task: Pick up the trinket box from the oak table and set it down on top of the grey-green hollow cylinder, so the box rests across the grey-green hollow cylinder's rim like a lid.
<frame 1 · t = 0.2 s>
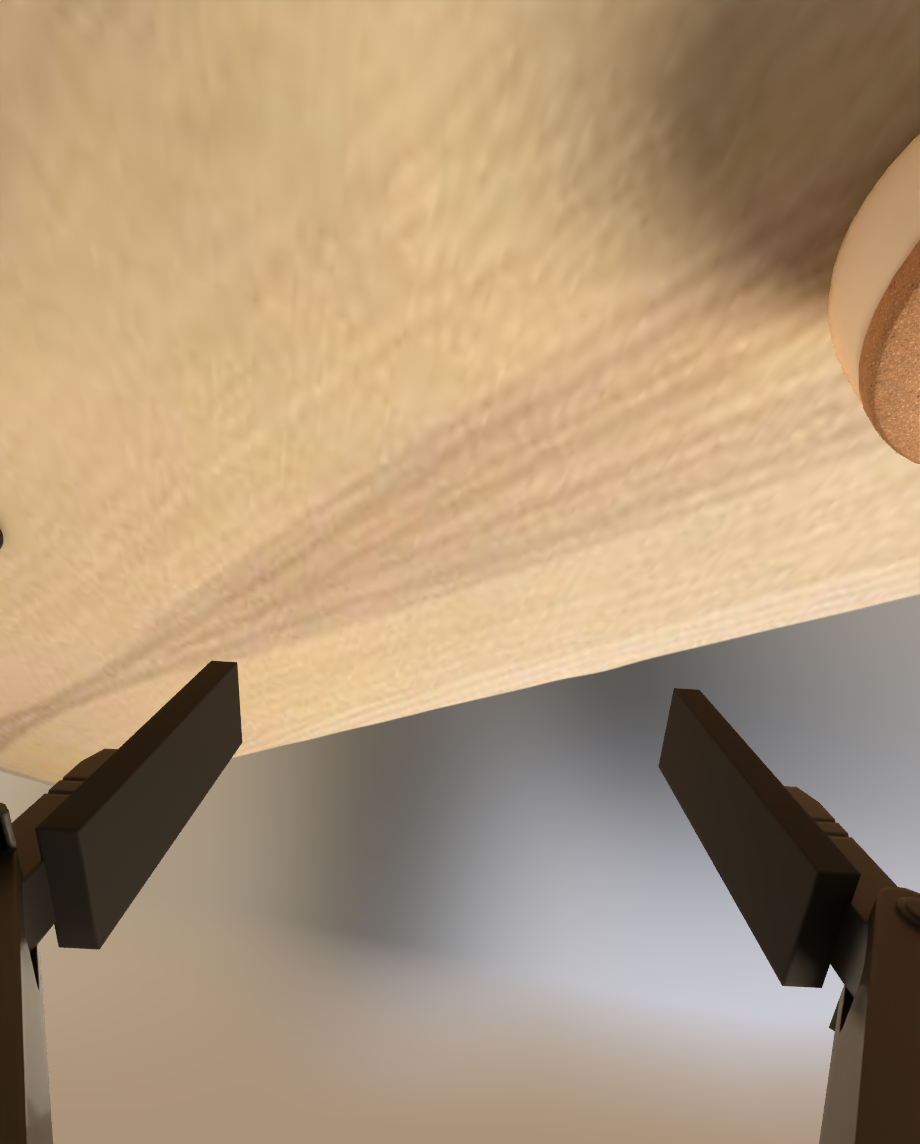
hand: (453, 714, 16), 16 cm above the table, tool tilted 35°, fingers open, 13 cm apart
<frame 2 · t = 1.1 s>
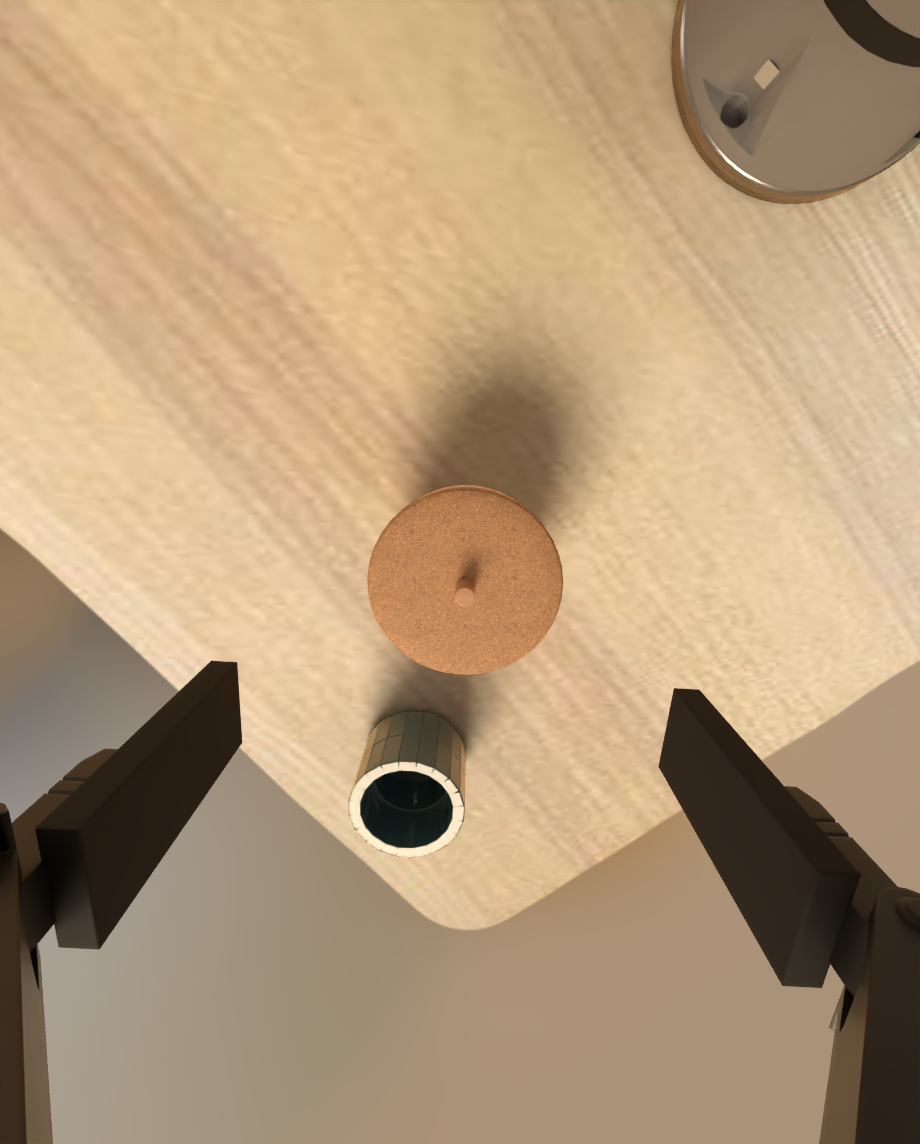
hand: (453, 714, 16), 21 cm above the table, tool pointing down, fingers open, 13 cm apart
grey-green hollow cylinder: (415, 749, 40), on the table
trinket box: (465, 551, 36), on the table
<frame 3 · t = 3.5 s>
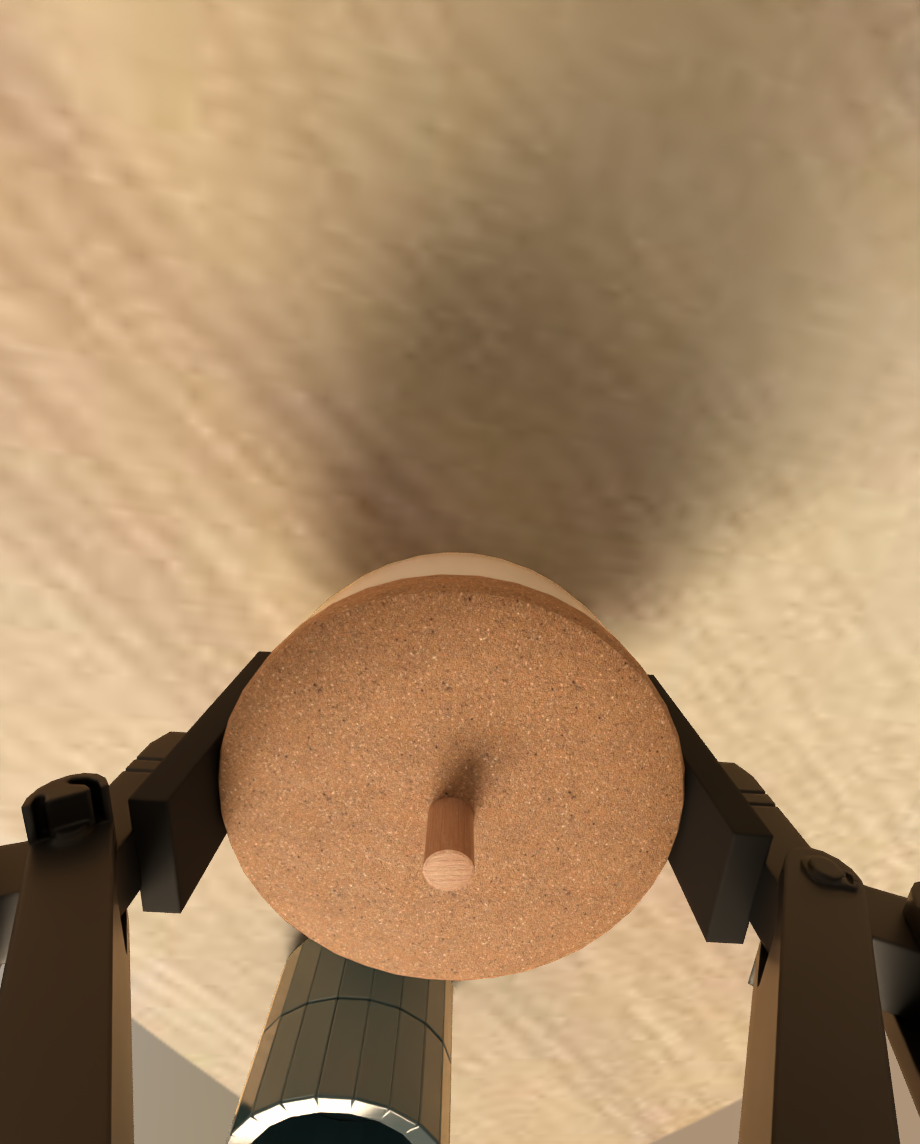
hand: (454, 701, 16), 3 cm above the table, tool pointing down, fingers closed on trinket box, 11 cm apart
grey-green hollow cylinder: (369, 975, 24), on the table
trinket box: (455, 657, 19), on the table, touching gripper
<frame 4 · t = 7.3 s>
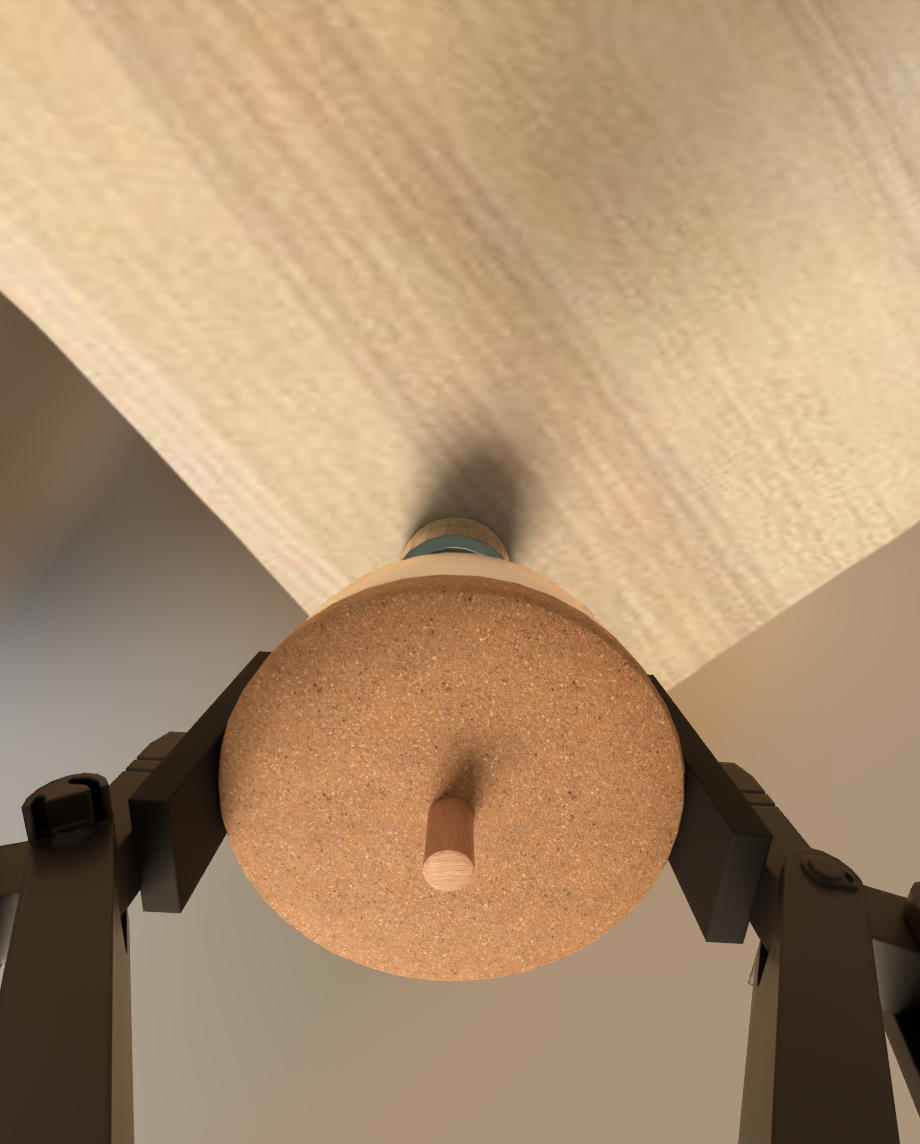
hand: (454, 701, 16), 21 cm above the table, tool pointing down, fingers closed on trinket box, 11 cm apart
grey-green hollow cylinder: (455, 568, 37), on the table
trinket box: (456, 658, 19), point 18 cm above the table, touching gripper
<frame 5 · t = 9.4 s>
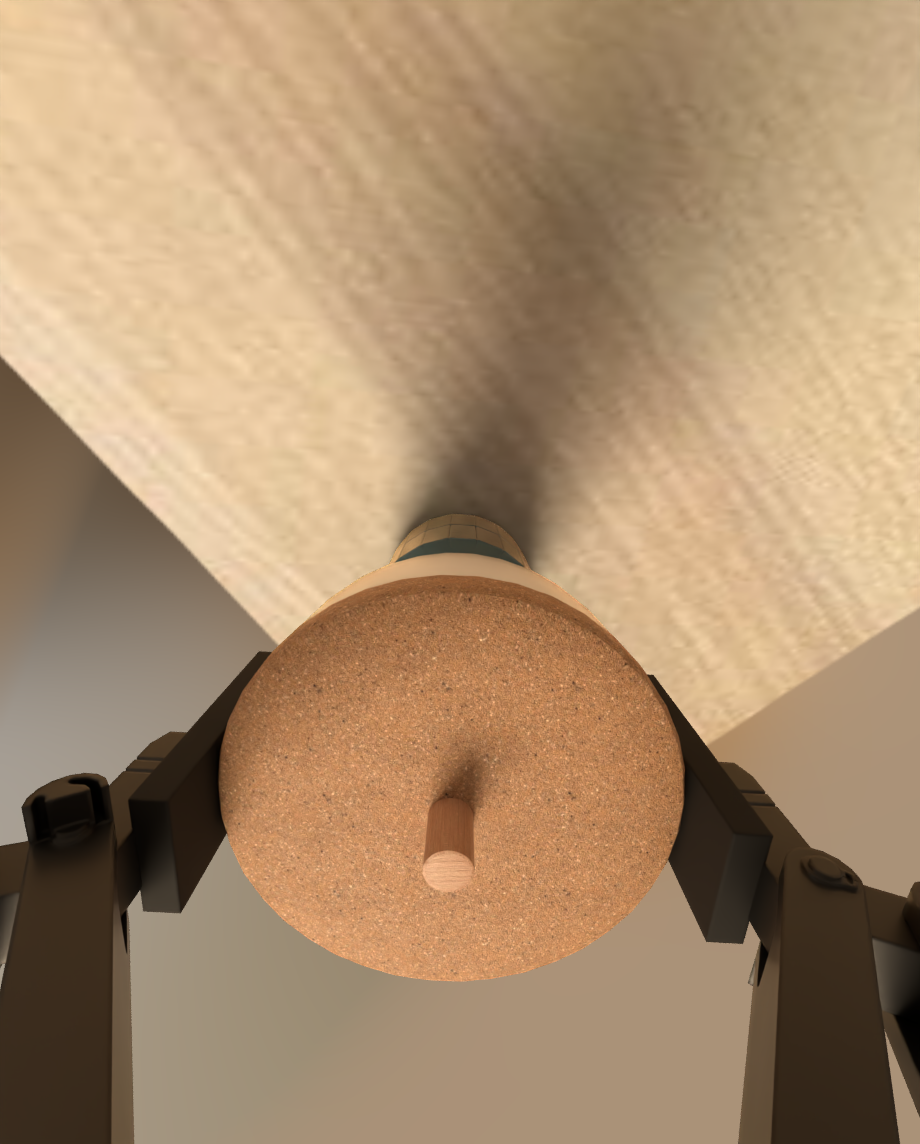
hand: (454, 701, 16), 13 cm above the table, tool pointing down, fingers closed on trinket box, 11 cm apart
grey-green hollow cylinder: (458, 579, 29), on the table
trinket box: (456, 658, 19), point 10 cm above the table, touching gripper
when the fingers open (9 cm above the table, at t = 11.1 s): trinket box stays where it is, resting on grey-green hollow cylinder.
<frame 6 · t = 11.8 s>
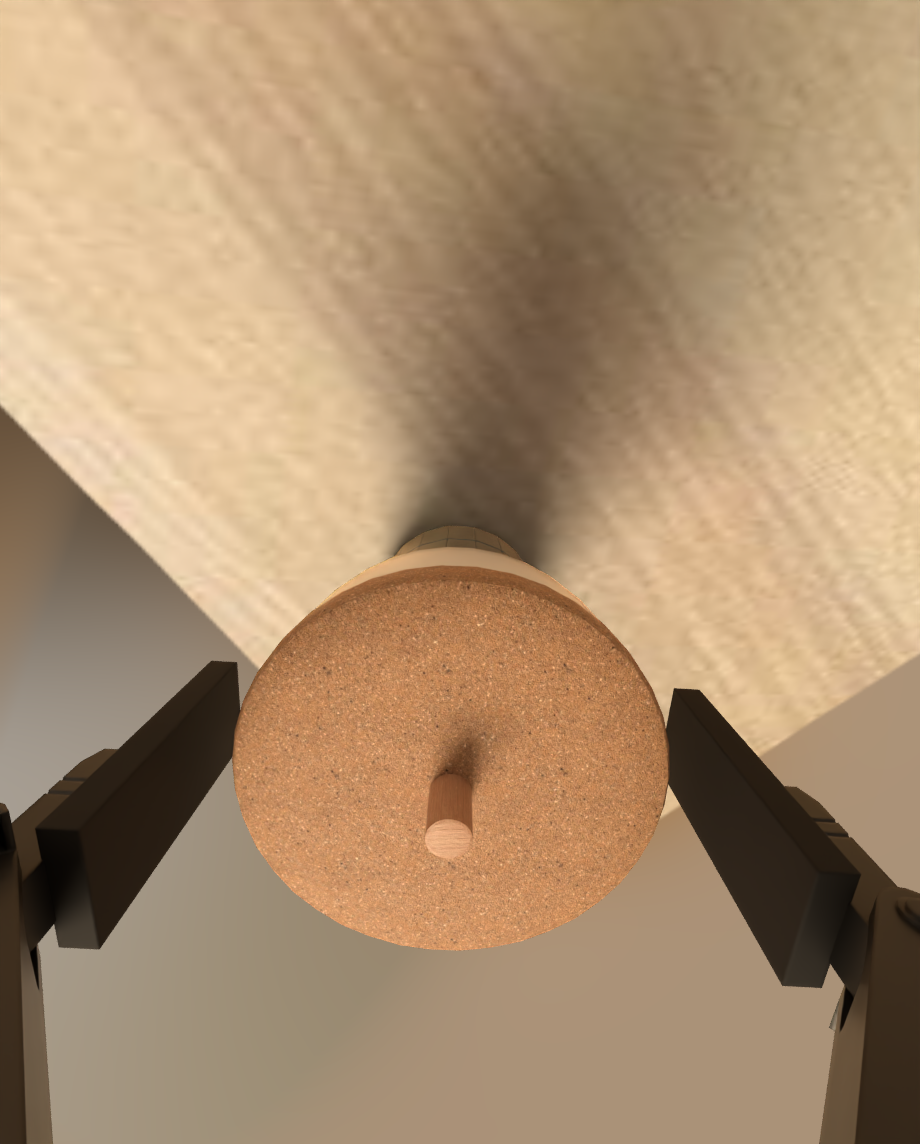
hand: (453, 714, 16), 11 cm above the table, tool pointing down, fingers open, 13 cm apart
grey-green hollow cylinder: (456, 597, 26), on the table
trinket box: (455, 649, 20), point 6 cm above the table, touching grey-green hollow cylinder
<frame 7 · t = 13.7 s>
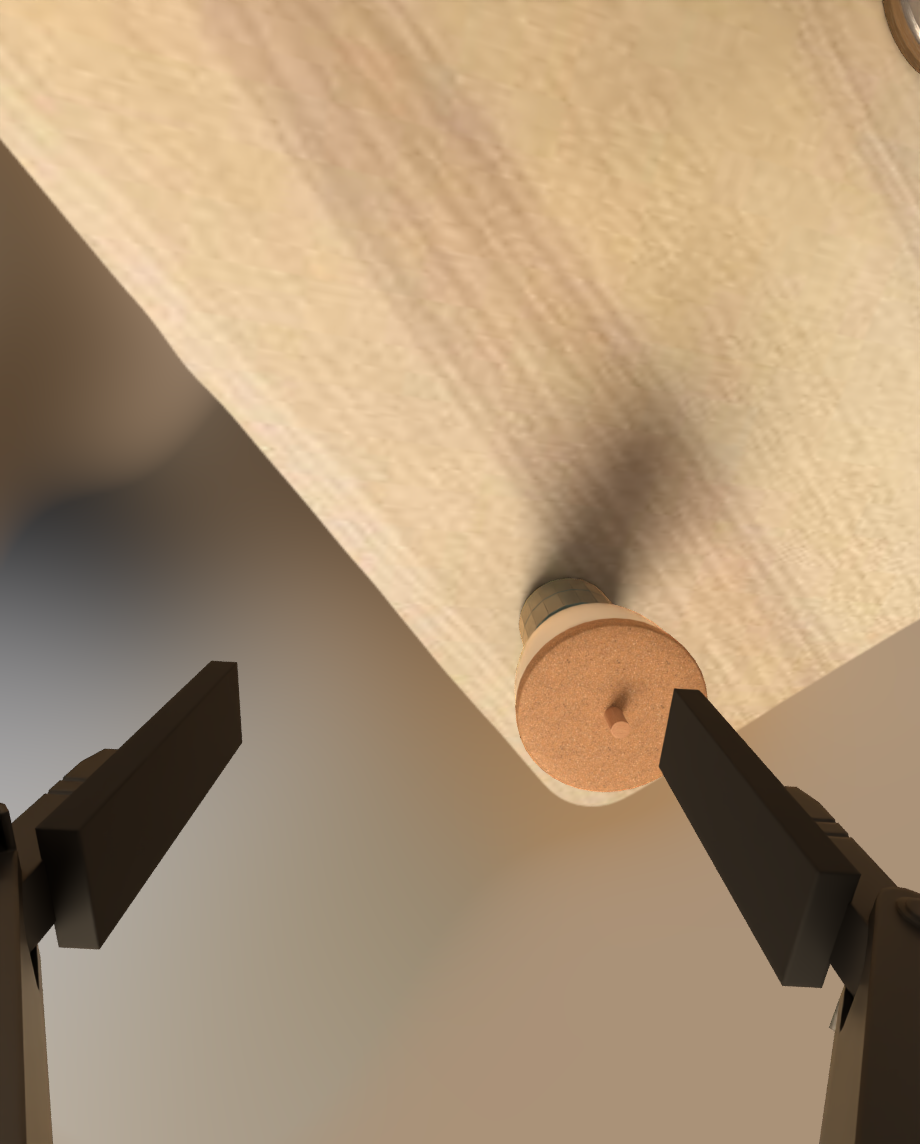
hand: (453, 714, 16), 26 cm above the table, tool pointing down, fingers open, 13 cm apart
grey-green hollow cylinder: (564, 620, 43), on the table
trinket box: (581, 652, 37), point 6 cm above the table, touching grey-green hollow cylinder
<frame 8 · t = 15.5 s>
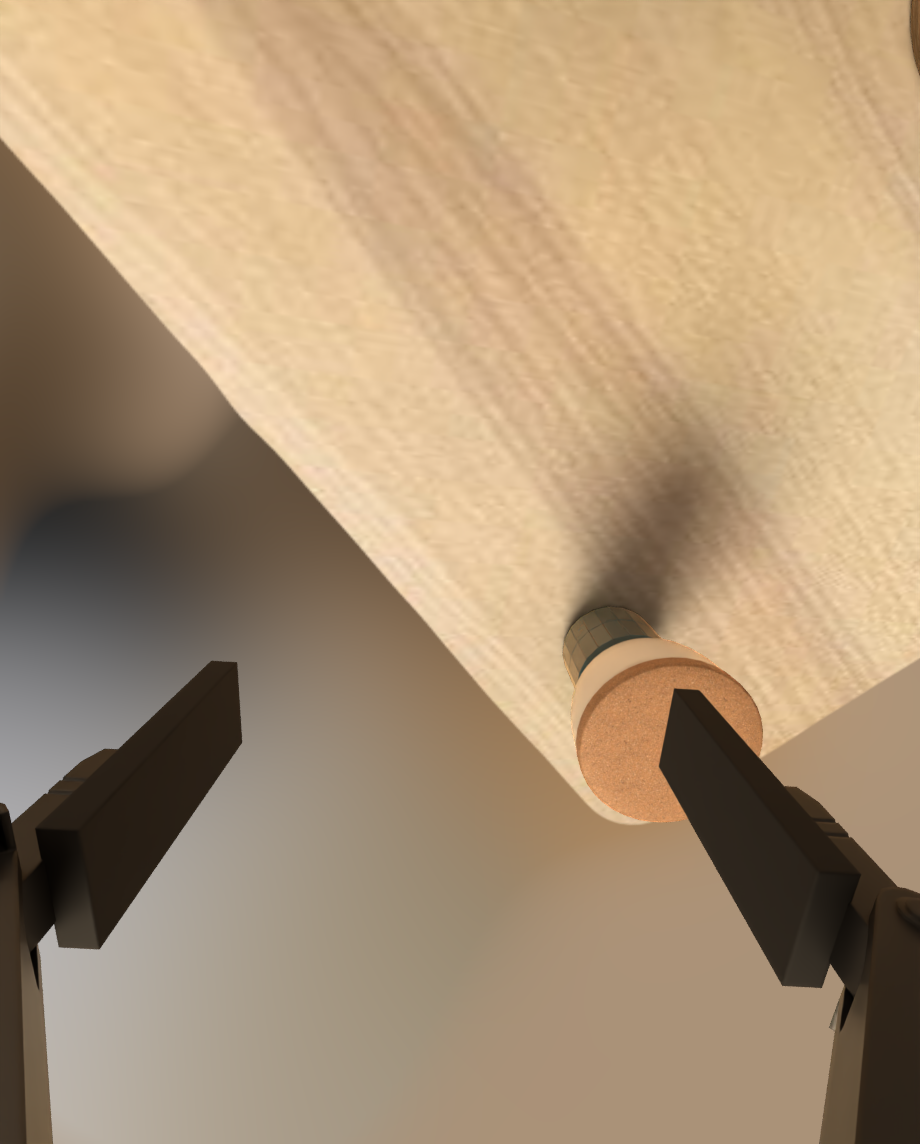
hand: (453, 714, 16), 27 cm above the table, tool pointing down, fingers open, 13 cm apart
grey-green hollow cylinder: (606, 646, 44), on the table
trinket box: (629, 682, 38), point 6 cm above the table, touching grey-green hollow cylinder
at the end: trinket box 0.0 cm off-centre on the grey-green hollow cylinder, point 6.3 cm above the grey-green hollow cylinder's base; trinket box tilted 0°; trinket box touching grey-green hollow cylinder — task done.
